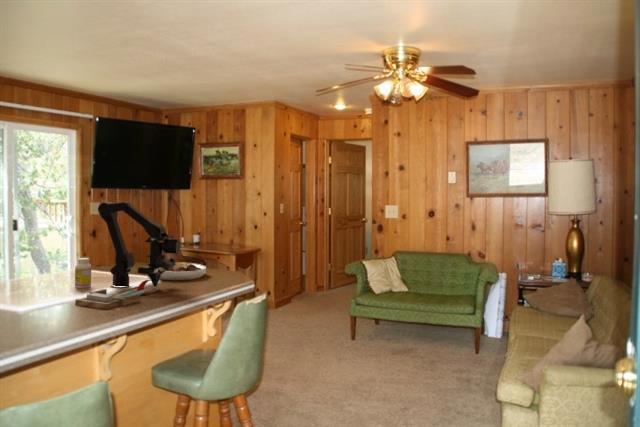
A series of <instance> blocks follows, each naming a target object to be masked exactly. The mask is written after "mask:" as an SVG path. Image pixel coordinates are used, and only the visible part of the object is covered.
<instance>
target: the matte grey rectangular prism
mask: <svg viewBox="0 0 640 427" xmlns="http://www.w3.org/2000/svg"><path fill="white" fill-rule="evenodd" d="M87 294H88V295H87ZM87 294H86V297H87V300H90V301H97V302H104V303H107V302H110V301H113V297H114V295H111V294H99V293H92V294H90V293H87Z"/></svg>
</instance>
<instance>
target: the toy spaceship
mask: <svg viewBox="0 0 640 427" xmlns="http://www.w3.org/2000/svg"><path fill="white" fill-rule="evenodd" d="M148 282H152V281H151V279H145V280H143V281H141V283H140V284H139V285H137V286H134V287H131V288H130V289H128V290H127V291H125V292H122V293H119V294H115V295H113V297H118V298H124V297H125V296H129V295H133V294H136V293H138V294H140V296H142V295H146V296H147V295H152V294H154V293H156V292H158V291H160V290H161V288H158V289H157V288H156V287H153V288H150V289H148V288H145V286H146V284H147V283H148Z"/></svg>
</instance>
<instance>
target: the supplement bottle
mask: <svg viewBox="0 0 640 427" xmlns="http://www.w3.org/2000/svg"><path fill="white" fill-rule="evenodd" d="M89 262H90V258H89V257H79V258H77V264H76V265H75V268H74V287H75V288H78V289H86V288H85V287H88V288H90V287H91V286H92V265H91V263H89Z"/></svg>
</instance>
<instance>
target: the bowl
mask: <svg viewBox="0 0 640 427" xmlns="http://www.w3.org/2000/svg"><path fill="white" fill-rule="evenodd" d="M175 264H176V265H175V266H173V269H172V270H169V271H166V270H164V269H163V268H162V269H163V271H165V272H164V273H163V274H161V276H160V279H159V280H163V281H188V280H189V281H190V280H196V279H199V278H202V277H203V276H204V275H205V273H206V272H207V266H206V265H203V264H200V263H193V262H186V261H184V262H183V261H182V262H175Z"/></svg>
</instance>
